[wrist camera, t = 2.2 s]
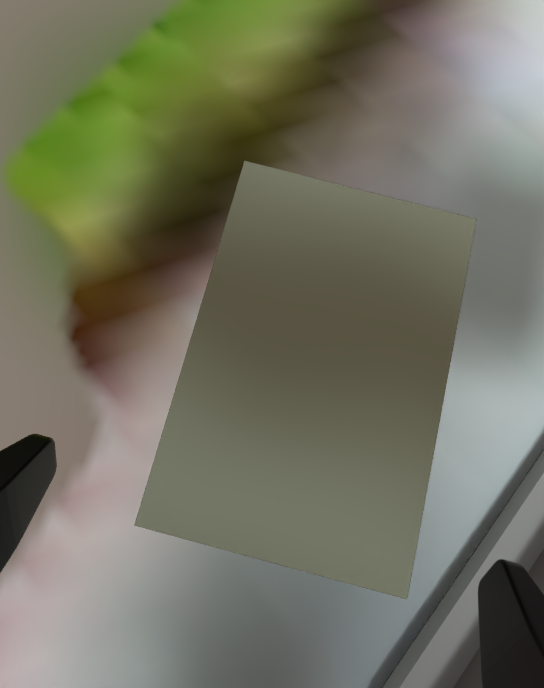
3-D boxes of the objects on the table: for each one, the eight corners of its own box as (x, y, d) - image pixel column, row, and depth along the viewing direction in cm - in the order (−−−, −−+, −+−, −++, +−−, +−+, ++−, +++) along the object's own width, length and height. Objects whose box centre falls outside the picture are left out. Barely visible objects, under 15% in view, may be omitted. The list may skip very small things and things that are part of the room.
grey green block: (310, 496, 19) (406, 599, 7) (214, 470, 19) (134, 525, 7) (343, 354, 20) (476, 219, 8) (253, 330, 20) (244, 160, 8)
